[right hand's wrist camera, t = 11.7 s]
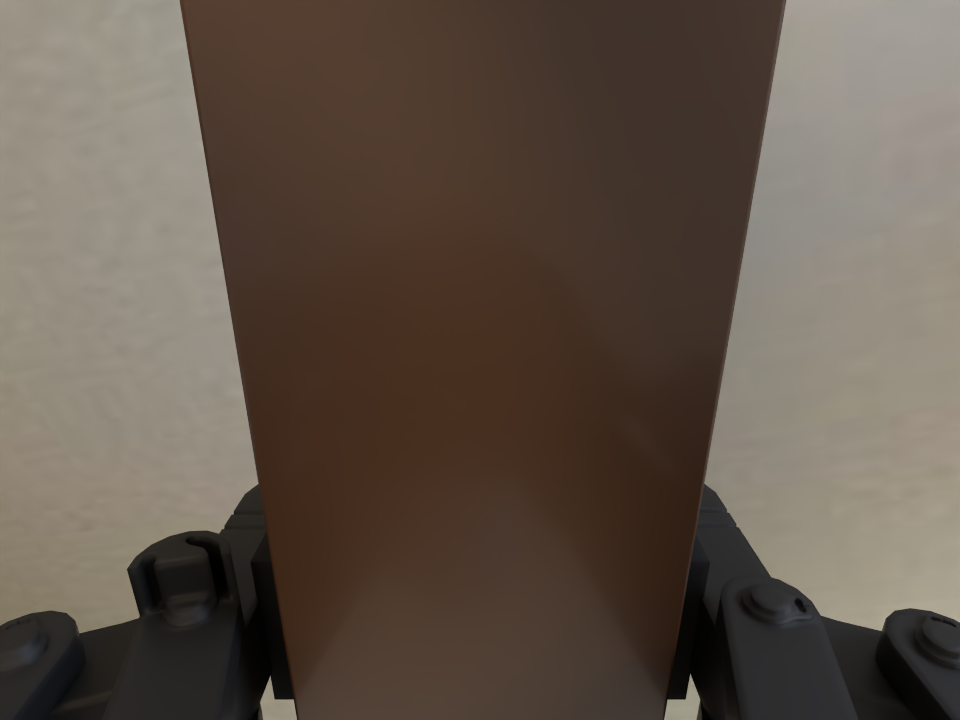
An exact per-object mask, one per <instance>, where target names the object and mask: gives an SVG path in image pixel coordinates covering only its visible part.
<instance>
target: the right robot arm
mask: <svg viewBox="0 0 960 720" xmlns="http://www.w3.org/2000/svg"><path fill="white" fill-rule="evenodd" d="M127 571H128V575H129V578H130V582H131V585H132V589H133V593H134V596H135V600H136V603H137V607H138V611H139V614H140V617H139V618H138V619H135V620H132V621H129V622H125V623H122V624H118V625H113V626H109V627H105V628H101V629H96V630H92V631H88V632H84V633H80V634H79V631H78V628H77V625H76V622H75V620H74V619H73V618H71V617H70V616H69V615H68V614H67V613H62V612H56V611H45V612H38V613H31V614H28V615H25V616H22V617H20V618H17V619H14V620H11V621H8V622H6V623H5V624H3V625H1V626H0V720H263V717H262V710H261V705H260V701H261V698H262V696H263V693H264V690H265V688H266V685H267V683H268V680H269V677H270V675H271V681H272V686H273V692H274V698H275V699H294V697H293V691H292V685H291V678H290V672H289V666H288V660H287V654H286V648H285V642H284V636H283V630H282V623H281V617H280V611H279V605H278V599H277V593H276V587H275V581H274V574H273V568H272V562H271V556H270V550H269V544H268V538H267V532H266V525H265V519H264V513H263V507H262V501H261V495H260V489H259V484H258V485H257V486H255V487H254V488H253V489H251V490H250V491H249V492H247V493H246V494H245V495H244V497H243V498H242V500H241V501H240V503H239V504H238V506H237V507H236V509H235V510H234V515H231V517H230V518H229V520H228V521H227V523H226V524H225V528H224V529H222V530H221V532H220V534H218V533H214V532H210V531H189V532H185V533H181V534H177V535H173V536H169V537H167V538H165V539H163V540H161V541H159V542H156V543H154V544H152V545H151V546H149V547H148V548H147V549H145V550H144V551H143V552H141V553H140V554H139V555H137V556H136V557H135V559H134V560H133V562H132V563H131V564H130V566H129V567H128V568H127ZM690 674H691V676H692V679H693V681H694V684H695V687H696V689H697V692H698V694H699V697H700V699H701V700H700V705H699V710H698V715H697V720H960V623H959V622H957V621H956V620H954V619H951V618H948V617H946V616H943V615H940V614H937V613H934V612H931V611H925V610H918V609H911V608H910V609H903V610H897V611H894V612H893V613H892V614H891V615H890V616H888V617H887V618H886V620H885V623H884V626H883V629H882V631H878V630H874V629H870V628H865V627H861V626H857V625H853V624H849V623H844V622H840V621H836V620H833V619H830V618H827V617H823V616H821V615H820V614H819V612H818V611H817V609H816V608H815V606H814V604H813V603H812V601H811V600H809V599H808V598H807V597H806V596H805V595H804V594H802V593H801V592H800V591H799V590H798V589H796V588H794V587H792V586H790V585H788V584H786V583H785V582H783V581H781V580H778V579H774V578H771V576H770V575H769V573H768V572H767V570H766V569H765V567H764V566H763V564H762V563H761V561H760V560H759V558H758V557H757V555H756V553H755V552H754V550H753V549H752V547H751V546H750V544H749V543H748V541H747V540H746V538H745V537H744V535H743V534H742V532H741V530H740V529H739V528H737V527H736V523H735V521H734V520H733V518H732V517H731V515H730V514H729V513H727V509H726V507H725V506H724V504H723V503H722V501H721V500H720V498H719V497H718V495H717V494H716V492H715V491H713V490H712V489H710V488H709V487H708V486H706V485H705V484H704V487H703V493H702V499H701V505H700V511H699V516H698V522H697V528H696V534H695V540H694V546H693V552H692V558H691V564H690V569H689V575H688V581H687V587H686V593H685V599H684V605H683V611H682V616H681V622H680V628H679V634H678V640H677V646H676V652H675V658H674V664H673V669H672V675H671V681H670V687H669V693H668V699H686V694H687V688H688V683H689V677H690Z"/></svg>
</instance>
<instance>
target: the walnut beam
mask: <svg viewBox="0 0 960 720" xmlns="http://www.w3.org/2000/svg"><path fill="white" fill-rule="evenodd" d="M785 4H786V0H180V5H181V11H182V18H183V24H184V30H185V36H186V42H187V48H188V54H189V60H190V66H191V73H192V79H193V85H194V91H195V97H196V103H197V109H198V115H199V122H200V128H201V134H202V140H203V146H204V152H205V158H206V164H207V171H208V177H209V183H210V189H211V195H212V201H213V207H214V213H215V219H216V226H217V232H218V238H219V244H220V250H221V256H222V262H223V268H224V275H225V281H226V287H227V293H228V299H229V305H230V311H231V317H232V324H233V330H234V336H235V342H236V348H237V354H238V360H239V366H240V372H241V379H242V385H243V391H244V397H245V403H246V409H247V415H248V421H249V428H250V434H251V440H252V446H253V452H254V458H255V464H256V470H257V477H258V483H259V489H260V495H261V501H262V507H263V513H264V519H265V525H266V532H267V538H268V544H269V550H270V556H271V562H272V568H273V574H274V581H275V587H276V593H277V599H278V605H279V611H280V617H281V623H282V630H283V636H284V642H285V648H286V654H287V660H288V666H289V672H290V678H291V685H292V691H293V697H294V703H295V709H296V715H297V720H664V717H665V711H666V705H667V699H668V693H669V687H670V681H671V675H672V669H673V664H674V658H675V652H676V646H677V640H678V634H679V628H680V622H681V616H682V611H683V605H684V599H685V593H686V587H687V581H688V575H689V569H690V564H691V558H692V552H693V546H694V540H695V534H696V528H697V522H698V516H699V511H700V505H701V499H702V493H703V487H704V481H705V475H706V469H707V463H708V458H709V452H710V446H711V440H712V434H713V428H714V422H715V416H716V410H717V405H718V399H719V393H720V387H721V381H722V375H723V369H724V363H725V358H726V352H727V346H728V340H729V334H730V328H731V322H732V316H733V310H734V305H735V299H736V293H737V287H738V281H739V275H740V269H741V263H742V257H743V252H744V246H745V240H746V234H747V228H748V222H749V216H750V210H751V205H752V199H753V193H754V187H755V181H756V175H757V169H758V163H759V157H760V152H761V146H762V140H763V134H764V128H765V122H766V116H767V110H768V104H769V99H770V93H771V87H772V81H773V75H774V69H775V63H776V57H777V52H778V46H779V40H780V34H781V28H782V22H783V16H784V10H785Z"/></svg>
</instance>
